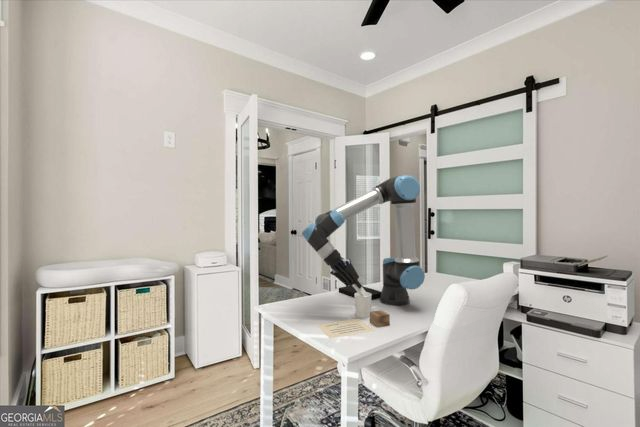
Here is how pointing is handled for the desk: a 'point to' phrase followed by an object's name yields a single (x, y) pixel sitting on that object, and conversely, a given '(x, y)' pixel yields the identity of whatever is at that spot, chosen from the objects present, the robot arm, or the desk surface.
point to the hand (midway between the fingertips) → (363, 294)
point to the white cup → (363, 305)
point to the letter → (345, 328)
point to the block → (379, 318)
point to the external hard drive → (350, 292)
